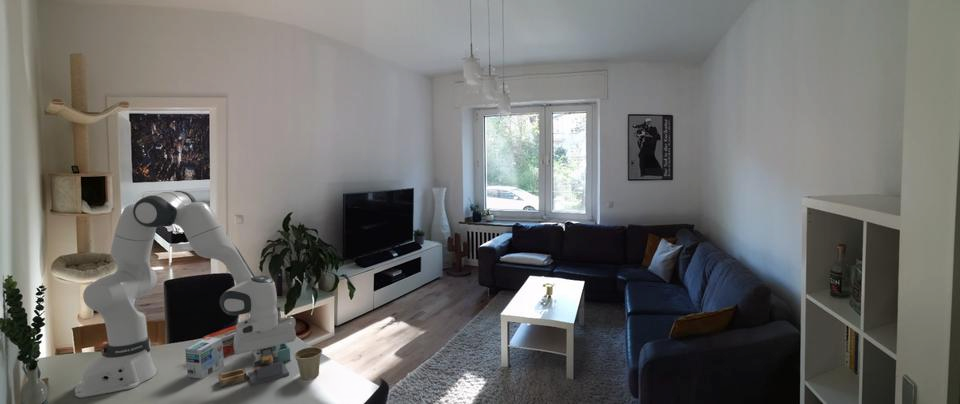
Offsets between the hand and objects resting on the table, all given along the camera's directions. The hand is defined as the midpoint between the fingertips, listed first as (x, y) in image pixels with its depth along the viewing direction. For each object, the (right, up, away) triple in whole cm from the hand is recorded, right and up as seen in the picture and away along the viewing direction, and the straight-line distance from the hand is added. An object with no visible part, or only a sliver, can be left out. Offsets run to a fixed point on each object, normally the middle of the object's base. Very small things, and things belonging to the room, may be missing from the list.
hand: (266, 358), depth 163 cm
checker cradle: (0, -6, +1) cm, 6 cm away
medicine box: (-25, -4, +21) cm, 33 cm away
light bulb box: (-24, -6, +4) cm, 25 cm away
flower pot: (+15, -6, 0) cm, 17 cm away
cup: (-2, -5, +12) cm, 14 cm away
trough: (-10, -7, -3) cm, 13 cm away
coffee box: (-9, -4, +22) cm, 24 cm away
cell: (0, -3, 0) cm, 3 cm away
